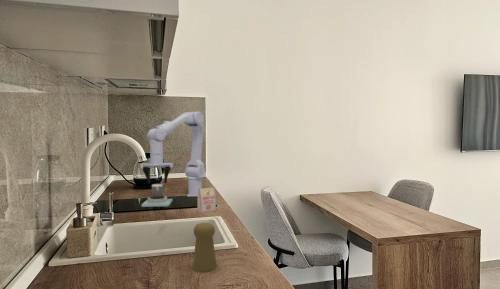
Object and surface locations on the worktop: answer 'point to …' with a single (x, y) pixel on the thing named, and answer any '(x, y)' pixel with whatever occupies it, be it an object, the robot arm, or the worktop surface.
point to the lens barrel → (157, 191)
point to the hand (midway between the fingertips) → (157, 182)
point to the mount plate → (157, 203)
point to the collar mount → (157, 200)
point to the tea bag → (206, 200)
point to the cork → (204, 248)
